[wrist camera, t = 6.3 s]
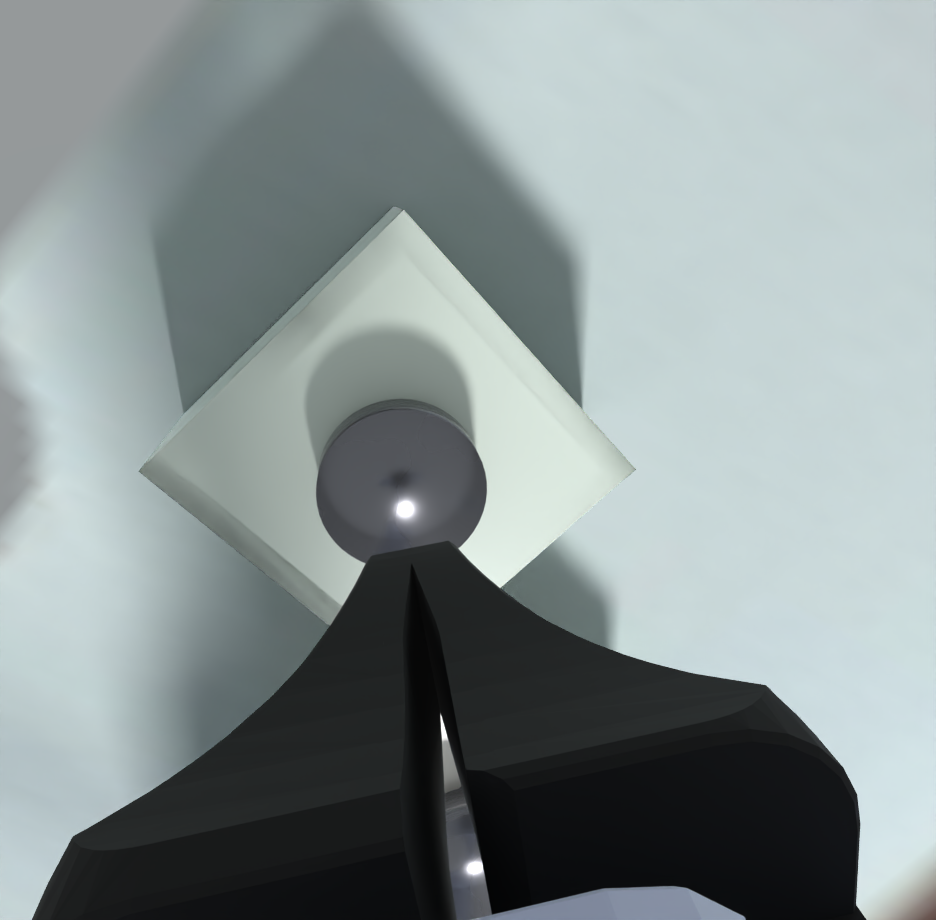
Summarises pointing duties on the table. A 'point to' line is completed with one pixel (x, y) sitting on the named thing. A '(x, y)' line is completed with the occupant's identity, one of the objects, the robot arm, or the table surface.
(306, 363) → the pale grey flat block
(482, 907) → the plunger
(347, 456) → the plunger
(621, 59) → the table surface
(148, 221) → the table surface
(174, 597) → the table surface
